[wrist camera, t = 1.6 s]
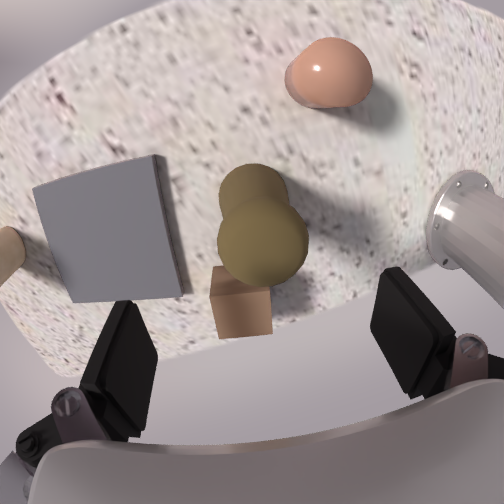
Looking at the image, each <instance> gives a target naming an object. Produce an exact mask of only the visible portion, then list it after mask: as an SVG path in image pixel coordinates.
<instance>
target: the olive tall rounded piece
mask: <svg viewBox="0 0 504 504" xmlns="http://www.w3.org/2000/svg"><path fill="white" fill-rule="evenodd" d="M219 204H220V208H221V212H222V216H223V221H222V222H221V225H220V229H219V233H218V237H217V246H218V254H219V256H220V258H221V260H222V263H223V265H224V267H225V269H226V270H227V271H228V272H229V273H230V274H231V275H232V276H233V277H234V278H236V279H238V280H239V281H241V282H243V283H245V284H248V285H252V286H257V287H269V286H274V285H277V284H280V283H283V282H285V281H286V280H288V279H289V278H291V277H292V276H293V275H294V274H295V273H296V272H297V271H298V270H299V269H300V267H301V266H302V265H303V263H304V261H305V259H306V256H307V254H308V245H309V235H308V231H307V228H306V224H305V222H304V221H303V219H302V218H301V216H300V215H299V214H298V212H297V211H296V210H295V208H293V207H292V206H290V205H289V199H288V193H287V189H286V186H285V183H284V181H283V179H282V178H281V177H280V175H279V174H278V173H277V172H276V171H274V170H273V169H271V168H270V167H268V166H265V165H261V164H245V165H242V166H240V167H237V168H235V169H234V170H233V171H231V172H230V173H229V174H228V175H227V176H226V177H225V179H224V180H223V182H222V183H221V187H220V191H219Z"/></svg>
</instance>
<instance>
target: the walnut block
mask: <svg viewBox="0 0 504 504" xmlns="http://www.w3.org/2000/svg"><path fill="white" fill-rule="evenodd" d="M209 297H210V301H211V306H212V310H213V315H214V319H215V324H216V328H217V332H218V337H219V339H226V338H238V337H249V336H259V335H267V334H273V330H272V314H271V299H270V288H269V287H257V286H252V285H248V284H245V283H243V282H241V281H239V280H238V279H236V278H234V277H233V276H232V275H231V274H230V273H229V272H228V271H227V270H226V269H225V267H224V266H215V267H213V272H212V280H211V288H210V296H209Z"/></svg>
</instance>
